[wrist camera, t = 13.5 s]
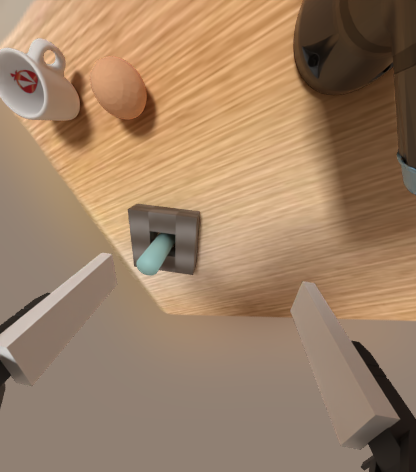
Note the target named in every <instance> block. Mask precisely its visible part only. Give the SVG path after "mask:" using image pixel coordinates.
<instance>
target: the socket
mask: <svg viewBox="0 0 416 472" xmlns="http://www.w3.org/2000/svg"><path fill="white" fill-rule="evenodd" d="M128 215H129V224H130V233H131V242H132V251H133V259H134V266H135V267H137V265H136V263H137V260H138V259H139V258H140V256H141V255H142V254H143V253H144V252H145V250H146V249H147V248H148V247H149V246H150V244H151V243H152V242H153V241H154V240H155V238H156V237H157V232H161V233H169V234H176V244H175V247H172V248H171V250H170V252H169V253H168V255H167V257H166V258H165V260H164V262H163V264H162V265H161V267H160V269H159V270H162V271H169V272H176V273H183V274H190V275H193V273H194V270H195V267H196V259H197V245H198V232H199V218H200V212H199V211H191V210H183V209H175V208H167V207H159V206H151V205H143V204H136V205H134V206H133V207H131V208H129V209H128Z"/></svg>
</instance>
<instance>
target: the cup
mask: <svg viewBox="0 0 416 472" xmlns="http://www.w3.org/2000/svg"><path fill="white" fill-rule="evenodd" d="M47 50H51V51H53V52H54V53H55V56H56V60H55V62H54V63H53V64H46V63H45V62H44V58H43V56H44V53H45V51H47ZM65 65H66V62H65V57H64V55H63V54H62V52H61V51H60V50H59V49H58V48H57V47H56V46H55V45H54V44H52V43H51V42H49V41H47V40H45V39H42V38H37V39H35V40H34V41H33V42H32V44H31V46H30V49H29V52H28V53H27V54H25V53H23V52H21V51H19V50H16V49H12V48H3V49H0V97H1V98H2V100H3V101H4V103H5V104H6V105H7V106H8V107H9V108H10V109H11V110H12V111H13V112H15V113H16V114H18V115H19V116H21V117H23V118H26V119H31V120H55V121H68V120H72V119H74V118H75V117H76V116H77V115H78V113H79V110H80V100H79V96H78V94H77V92H76V90H75V88H74V87H73V85H72V84H71V83H70V82H69V81H68V80H67V79H66V78H65V77H64V70H65Z"/></svg>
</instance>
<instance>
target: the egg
mask: <svg viewBox="0 0 416 472" xmlns="http://www.w3.org/2000/svg"><path fill="white" fill-rule="evenodd" d="M90 80H91V87H92V90H93V92H94V95H95V97H96V98H97V100H98V101H99V103H100V104H101V106H102V107H103V108H104V109H105V110H106V111H108V112H109V113H110V114H112V115H113V116H115V117H118V118H121V119H127V120H129V119H133V118H136V117H138V116H139V115H140V114H141V113H142V112H143V110H144V108H145V105H146V100H147V95H146V88H145V85H144V82H143V80H142V78H141V76H140V74H139V73H138V72H137V70H136V69H135V68H134V67H133V66H132V65H131V64H130V63H128V62H127V61H125V60H123V59H121V58H118V57H115V56H106V57H103V58H101V59H99V60H97V62H96V63H95V64H94V65H93V67H92V70H91V73H90Z"/></svg>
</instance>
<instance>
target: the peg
mask: <svg viewBox="0 0 416 472" xmlns="http://www.w3.org/2000/svg"><path fill="white" fill-rule="evenodd" d="M175 242H176V234H169V233H160V234H159V235H158V236H157V237H156V238H155V240H154V241H153V242H152V243H151V244H150V246H149V247H148V248H147V249H146V250H145V252H144V253H143V254H142V255H141V256H140V258H139V259H138V260H137V263H136V265H137V268H138V270H139V271H140V272H141V273H143V274H145V275H155V274H156V273H157V272H158V270H159V269H160V267H161V265H162V264H163V262H164V260H165V258H166V257H167V255H168V253H169V252H170V250H171V248H172V247H173V245H174V243H175Z"/></svg>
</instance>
